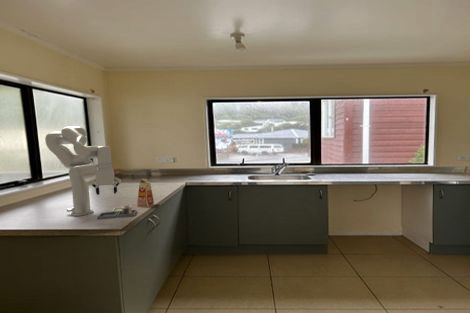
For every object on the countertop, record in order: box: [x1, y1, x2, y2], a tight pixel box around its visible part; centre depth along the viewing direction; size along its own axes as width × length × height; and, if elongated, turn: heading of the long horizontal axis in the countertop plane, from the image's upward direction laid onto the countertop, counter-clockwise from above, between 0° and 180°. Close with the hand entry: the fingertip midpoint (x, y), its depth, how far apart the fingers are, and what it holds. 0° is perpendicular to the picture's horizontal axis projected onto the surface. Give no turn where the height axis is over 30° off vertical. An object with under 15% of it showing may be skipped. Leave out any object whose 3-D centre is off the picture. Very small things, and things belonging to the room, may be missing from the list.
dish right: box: [116, 209, 138, 218], centre depth 170 cm, size 10×10×2 cm
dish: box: [110, 206, 123, 212], centre depth 180 cm, size 10×10×2 cm
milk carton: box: [136, 178, 155, 208], centre depth 192 cm, size 9×9×20 cm
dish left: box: [96, 211, 119, 220], centre depth 168 cm, size 10×10×2 cm
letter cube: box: [121, 204, 133, 215], centre depth 170 cm, size 5×5×5 cm
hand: (106, 193), depth 167 cm, fingers open, 9 cm apart
